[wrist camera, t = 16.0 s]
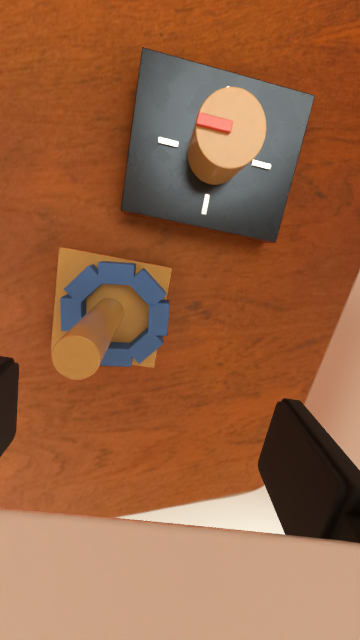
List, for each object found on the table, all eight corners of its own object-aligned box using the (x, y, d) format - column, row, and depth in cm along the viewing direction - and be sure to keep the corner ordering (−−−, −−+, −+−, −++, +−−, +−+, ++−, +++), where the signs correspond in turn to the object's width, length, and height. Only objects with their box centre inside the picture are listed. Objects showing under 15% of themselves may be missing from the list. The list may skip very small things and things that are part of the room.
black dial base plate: (297, 111, 22) (316, 94, 19) (264, 242, 24) (276, 242, 22) (144, 70, 20) (141, 44, 18) (124, 213, 23) (120, 210, 20)
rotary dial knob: (249, 129, 20) (277, 93, 15) (236, 190, 21) (258, 174, 16) (193, 114, 19) (204, 73, 14) (182, 178, 20) (189, 158, 15)
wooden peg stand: (171, 267, 24) (181, 285, 13) (154, 362, 26) (150, 444, 16) (64, 246, 23) (-19, 249, 12) (55, 348, 25) (-22, 425, 15)
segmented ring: (171, 265, 23) (171, 267, 21) (164, 360, 25) (165, 368, 24) (65, 258, 22) (58, 259, 21) (68, 357, 24) (62, 364, 23)
